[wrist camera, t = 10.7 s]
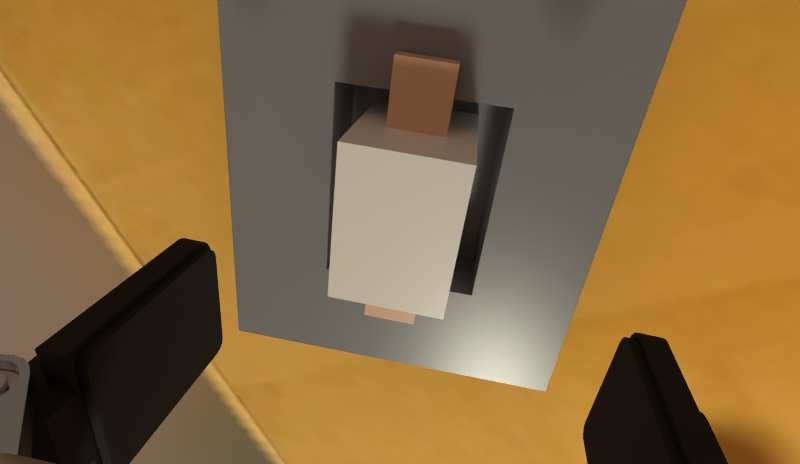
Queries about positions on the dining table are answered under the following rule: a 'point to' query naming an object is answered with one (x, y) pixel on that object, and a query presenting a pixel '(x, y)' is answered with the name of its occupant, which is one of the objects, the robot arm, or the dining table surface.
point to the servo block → (403, 194)
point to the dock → (494, 177)
